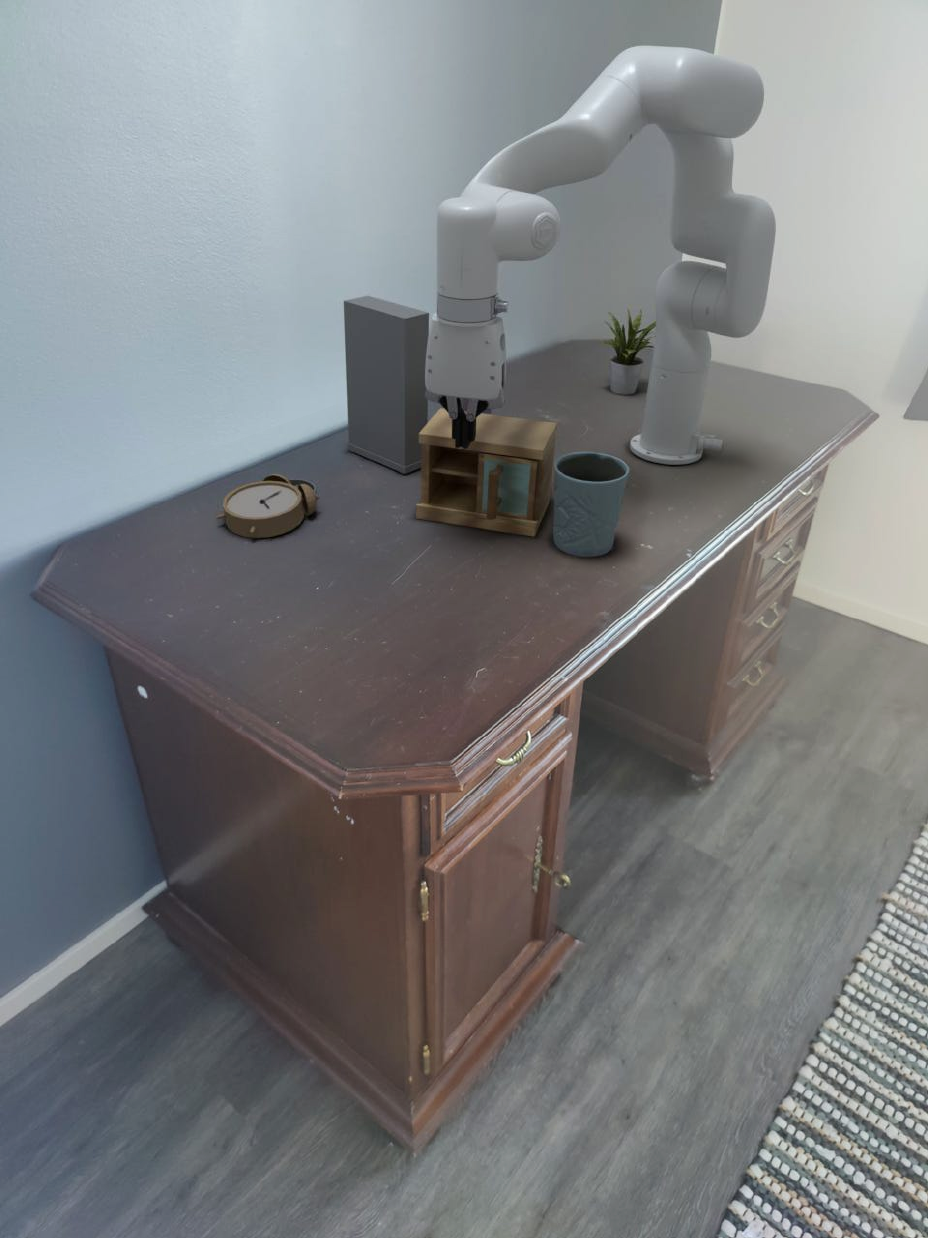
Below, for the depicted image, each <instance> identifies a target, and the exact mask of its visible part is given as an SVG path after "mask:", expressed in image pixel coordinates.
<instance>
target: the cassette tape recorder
mask: <svg viewBox="0 0 928 1238" xmlns="http://www.w3.org/2000/svg"><path fill="white" fill-rule="evenodd" d="M343 321H344V346H345V347H344V348H345V373H346V374H345V377H346V378H345V379H346V404H347V430H348V431H347V433H348V442H347V450H349V451H350V453H355V454H357V455H360V456H362V457H364V458H367V459H369V460H372V461H374V462H376V463H378V464H380V465H383V466H385V467H387V468H391V469H392V470H395V471H397V472H399V473H400V474H403V475H407V474H409V473H411V472H413V471H416V470H419V469H421V458H422V444H421V443H419V433H420V432H421V430H422V429H423V428H424V427H425V426H426V424H427V423H428V420H429V419H428V416H429V415H428V414H429V413H428V411H429V410H428V409H429V408H428V407H429V400H428V399H426V398H425V392H426V384H425V366H426V353H427V344H428V336H429V329H430V312H427V311H425V310H422V309H421V310H420V309H417V308H414V307H411V306H406V305H402V304H399V303H396V302H392V301H389V300H384V299H381V298H379V297H376V296H375V297H374V296H371V295H364V296H360V297H355V298H349V299H346V300H343Z"/></svg>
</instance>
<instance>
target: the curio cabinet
mask: <svg viewBox="0 0 928 1238" xmlns="http://www.w3.org/2000/svg"><path fill="white" fill-rule="evenodd" d="M464 412H465V414H466V413H467V411H464ZM557 427H558V422H553V421H545V420H537V419H536V420H535V419H529V418H522V417H521V418H520V417H512V416H505V415H497V414H492V413H491V414H483V413H481V414H480V415H479V416H478V417H476V438H475V440H474V441H472V442H471V443H470V445H469V447H468V448H467V449H463V447H462V446H461V447H460V448H455V439H452V419H451V418H450V417H449V413H448V412H447V411H446V410H445V409H444V408H443V407H440V408H439V409H438V410H437V411H436V412H435V413H434V415H433V416H432V417H431V418H430V420H429V421H427V424H426V426H425V427H424V428H423V429H422V430H421V432H420V433H419V443H421V444H422V458H421V468H420V470H421V471H420V472H421V474H420V475H421V476H420V483H421V484H420V503H416V505H415V509H416V510H415V518H416V519H417V520H425V521H430V522H437V523H444V524H449V525H456V526H463V527H467V528H468V527H469V528H474V529H475V528H476V529H482V530H489V531H495V532H500V533H501V532H502V533H508V534H514V535H520V536H527V537H534V538H535V537H536V535H537V533H538V530H539V528H540V525H541V523H542V521H543V518H544V517H545V514H546V511H547V509H548V507H549V504H550V499H551V490H552V479H553V471H554V458H555V448H556V439H557ZM479 452H486V453H494V454H501V455H508V456H516V457H523V458H530V459H537V460H538V466H537V478H536V489H535V501H534V512H533V520H532V521H530V520H524V519H517V518H510V517H504V516H497V517H496V519H494V520H490V519H488V518H487V514H484V513H477V512H476V502H477V482H478V461H479Z"/></svg>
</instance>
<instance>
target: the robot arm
mask: <svg viewBox="0 0 928 1238" xmlns="http://www.w3.org/2000/svg"><path fill="white" fill-rule="evenodd" d="M764 101H765V88H764V83H763V80H762V77H761V75H760V73H759V72H758V71H757V70H756V69H755V68H754V67H753V66H751V65H750V64H747V63H744V62H740V61H738V60H734V59H730V58H727V57H724V56H721V55H718V54H714V53H711V52H708V51H705V50H701V49H697V48H690V47H680V46H665V45H664V46H662V45H636V46H632V47H629V48H626V49H624V50H623V51H621V52H620V53H619V54H618V55H617V56H615V58H614V59H613V60H612V61H611V62H610V63H609V64H608V65H607V66H606V67H605V69H603V71H602V72H601V73H600V74H599V76H597V77H596V79H594V81H593V82H592V83H591V84H590V85H589V86H588V87H587V89H586V90H585V91H584V92H583V93H582V94H581V95H580V97H578V99H577V100H576V101H575V102H574V103H573V104H572V105H571V107H570V108H568V109H567V111H566V112H565V113H563V115H562V116H561V117H560V118H559V119H557V120H555V121H553V122H551V123H549V124H547V125H544V126H542V127H540V128H539V129H537V130H535V131H533V132H531V133H529V134H528V135H526V136H524V137H523V138H520V139H518V140H517V141H515V142H513V143H511V144H509V145H508V146H506V147H504V148H503V149H502V150H500V151H499V152H497V153H496V154H495V155H493V157H491V159H489V161H487V162H486V163H485V165H484V166H483V167H482V168H481V169H480V170H479V171H478V172H477V173H476V175H474V177H473V178H472V179H471V180H470V181H469V182H468V183H467V185H466V187H464V189H463V191H462V192H461V194H460V196H459V197H451V198H447V199H445V200H444V201H441V203H440V204H439V206H438V209H437V213H436V215H437V216H436V312H434V314H433V315H432V316H431V321H430V323H429V336H428V344H427V353H426V366H425V384H426V392H425V398H426V399H428V401H431V402H434V403H436V404H439V405H440V406H441V408H444V409H445V410H446V411H447V412H448V413H449V417H450V418H451V419H452V439H455V448H460V447H461V446H462V447H463V449H467V448H468V447H469V445H470V443H471V442H472V441H474V440H475V438H476V417H478V416H479V415H480V414H481V413H482V412H483V411H485V410H486V409H491V410H494V409H495V410H496V409H500V408H501V409H502V407H503V406H504V405H505V403H506V399H505V398H506V397H505V393H504V389H505V387H506V384H507V345H506V344H507V343H506V333H505V325H504V320H503V319H504V318H503V317H501V316H500V315H499V316H498V314H501V313H508V311H509V301H508V300H503V299H501V298H500V296H499V295H500V293H499V292H498V285H499V284H498V281H499V264H500V262H505V261H507V262H508V261H509V262H530V261H535V260H539V259H540V258H542V257H545V256H546V255H547V254H548V253H550V252H551V251H552V250H553V248H554V247H555V246H556V244H557V242H558V240H559V238H560V234H561V227H562V224H561V218H560V217H561V216H560V214H559V212H558V210H557V208H556V207H555V206H554V204H553V203H552V202H551V201H550V200H548V199H546V198H545V197H542V196H541V195H537V193H539V192H540V193H541V192H542V191H545V190H548V189H552V188H556V187H561V186H566V185H571V184H576V183H580V182H583V181H587V180H590V179H594V178H596V177H599V176H600V175H603V174H604V173H605V172H607V171H608V170H609V169H610V167H612V165H613V164H614V163H615V162H616V160H617V159H618V158H619V157H620V156H621V155H622V153H623V152H624V151H625V150H626V149H627V148H628V146H629V145H630V144H631V143H632V142H633V141H634V140H635V139H636V137H637V136H638V135H639V134H641V132H642V131H643V129H645V128H646V127H647V126H648V125H656V126H657V127H658V128H659V129H660V130H661V132H662V133H663V135H664V136H665V138H666V139H667V141H668V142H669V146H670V148H671V149H670V150H671V153H672V158H673V177H672V178H673V179H672V192H671V204H670V205H671V207H670V223H669V237H670V243H671V244H672V246H673V248H674V249H675V250H676V251H678V252H680V253H681V254H684V255H687V256H691V257H695V258H700V259H704V260H708V261H714V262H717V263H721V264H725V267H721V266H720V265H719V266H718V265H714V264H709V263H705V262H701V261H693V260H681V261H676V262H674V263H672V264H670V265H669V266H667V267H666V268H665V269H664V271H663V272H662V273H661V275H660V277H659V278H658V281H657V283H656V288H655V294H654V295H655V297H654V298H655V300H654V304H655V306H654V307H655V321H656V327H655V332H656V333H654V334H655V335H654V336H655V337H654V343H653V346H654V348H653V349H652V350H653V352H652V358H651V364H650V369H649V377H648V384H647V388H646V389H647V390H646V398H645V403H644V410H643V416H642V423H641V429H640V433H639V434H636V435H635V436H633V437H631V439H630V443H629V449H630V451H631V452H632V454H634V455H635V456H636V457H638V458H639V459H642V460H644V461H648V462H651V463H655V464H660V465H669V466H680V465H688V464H693V463H695V462H698V461H699V460H700V459H702V456H703V452H704V449H706V450H711V451H716V452H721V451H722V449H723V443H724V439H717V435H715V434H703V432H702V431H700V430H701V425H700V419H701V414H702V409H703V403H704V397H705V392H706V387H707V382H708V377H709V373H710V372H709V371H710V366H711V361H712V344H711V339H710V336H709V333H711V334H715V335H719V336H723V337H727V338H734V339H741V338H744V337H747V336H750V335H751V334H752V333H753V332H754V331H755V330H756V328H757V327H758V325H759V324H760V323H761V320H762V317H763V315H764V311H765V308H766V305H767V304H766V303H767V298H768V291H769V284H770V277H771V270H772V263H773V256H774V250H775V242H776V232H777V224H776V223H777V222H776V216H775V212H774V210H773V208H772V206H771V205H770V204H769V202H767V201H766V200H764V199H763V198H761V197H758V196H754V195H750V194H749V195H748V194H744V193H737V192H735V191H734V189H733V172H734V160H735V159H734V158H735V155H734V154H735V153H734V145H733V140H732V139H736V138H740V137H742V136H743V135H745V134H746V133H747V132H749V131H750V130H751V129H752V128H753V127H754V125H755V124H756V123H757V121H758V119H759V117H760V115H761V112H762V110H763V107H764ZM462 398H465V399H469V403H468V408H467V413H466V414H465V412H464V410H463V406H462Z"/></svg>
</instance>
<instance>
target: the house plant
mask: <svg viewBox="0 0 928 1238" xmlns="http://www.w3.org/2000/svg"><path fill="white" fill-rule="evenodd" d="M642 312H643V311H642V309H640V310H639V312H638V314H637V316H636V317H635V318H634V320H632V316H631V313H630V310H629V309H627V316H628V320H627V322H628V328H627V329H628V330H627V337H626V327H625V325H624V324H622V326H621V325H620V321H619V320H618V319H617V317H615V316H614V314H613V313H611V312H610V311H608V312H607V313H608V315H609V316H610V318H611V321H612V323H613V326H614V328H613V326H612V325H611V324H610V323H609V322H608V321H605V320H604V323H605V324H606V325H607V326H608V328H609V329H610V330H611V332H612V334H613V335H614V339H606V340H602V341H600V342H599V344H605V345H609V346H612V348H613V349H614V351H615V353H616V355H613V356H610V357H609V361H608V362H609V384H610V385H609V389H610V391H611V392H612V393H614V394H618V395H624V396H625V395H632V394H635V393H636V392H637V389H638V384H639V381H640V377H641V375H642V373H643V372H642V371H643V369H644V366H645V360H644V359H642V358H640V357H641V355H639V356H636V355H638V353H639V352H640V351H641V350H643V349H646V348H650V349H654V343H651V342H650V340H652V338H653V339H654V338H655V335H654V336H649V337H647V336H648V335H650V334H656V331H652V330H653V329H655V328H656V320H655V321H654V322H652V323H650V324H649V325H648V326H647V327H645V328H642V329H640V326H641V324H642V316H643V313H642ZM639 329H640V330H639ZM639 333H640V335H639V336H638V337H637V335H638V334H639ZM646 337H647V338H646ZM650 344H652V345H650ZM650 349H647V350H646V352H648V351H649V350H650Z"/></svg>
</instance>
